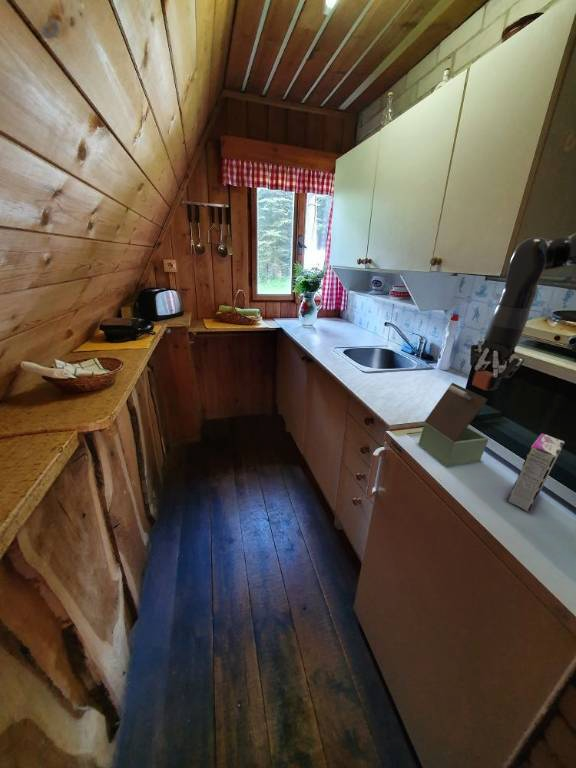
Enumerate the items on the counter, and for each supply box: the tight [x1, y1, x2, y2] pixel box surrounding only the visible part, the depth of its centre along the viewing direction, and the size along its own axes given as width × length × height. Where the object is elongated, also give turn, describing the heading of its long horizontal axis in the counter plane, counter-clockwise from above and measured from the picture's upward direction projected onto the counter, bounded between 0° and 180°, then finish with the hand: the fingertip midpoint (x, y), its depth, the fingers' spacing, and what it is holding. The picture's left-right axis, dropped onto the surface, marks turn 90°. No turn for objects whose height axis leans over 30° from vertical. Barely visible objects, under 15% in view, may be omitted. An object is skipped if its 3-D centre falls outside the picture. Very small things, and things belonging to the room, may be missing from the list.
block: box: [471, 370, 493, 391], centre depth 84 cm, size 4×4×4 cm
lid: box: [424, 382, 488, 442], centre depth 88 cm, size 14×12×5 cm
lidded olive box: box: [417, 422, 490, 467], centre depth 94 cm, size 14×12×8 cm
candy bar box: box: [507, 433, 565, 513], centre depth 76 cm, size 11×5×16 cm, turn 131°
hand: (483, 386), depth 84 cm, fingers closed on block, 4 cm apart
